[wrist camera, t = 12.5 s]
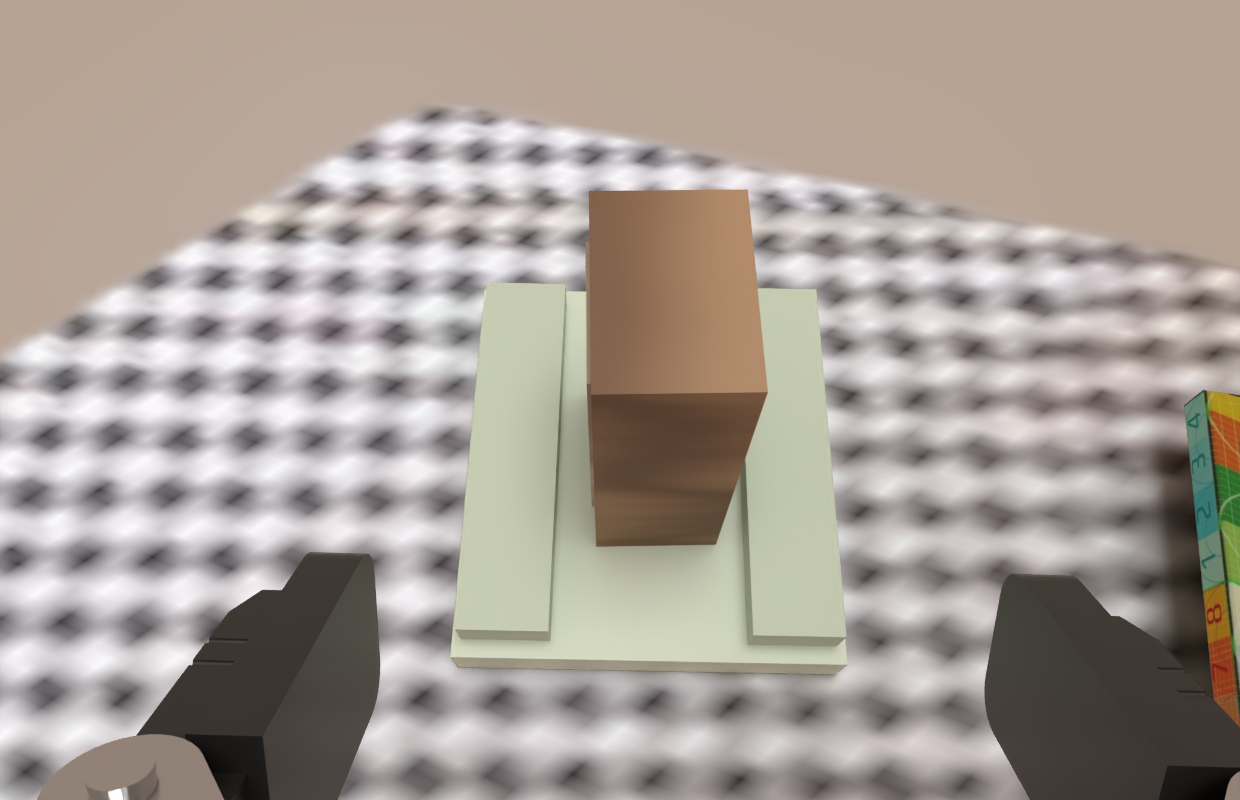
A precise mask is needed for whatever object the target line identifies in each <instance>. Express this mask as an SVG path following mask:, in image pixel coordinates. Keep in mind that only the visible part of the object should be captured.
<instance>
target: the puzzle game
mask: <svg viewBox="0 0 1240 800" xmlns="http://www.w3.org/2000/svg"><path fill="white" fill-rule="evenodd" d="M1184 407H1185V417H1186V427H1187V437H1188V447H1189V457H1190V467H1191V477H1192V486H1193V496H1194V506H1195V516H1196V526H1197V536H1198V546H1199V556H1200V566H1201V576H1202V586H1203V596H1204V606H1205V616H1206V626H1207V636H1208V646H1209V656H1210V666H1211V676H1212V686H1213V696H1214V700H1215V701H1216V702H1217V704H1218V705H1219V706H1220V707H1221V708H1222V709H1223V710H1224V711H1225V712H1226V713H1227V714H1228V715H1229V716H1230V717H1231V718H1232V720H1233V721H1234V722H1235V723H1236V724H1237V725H1238V726H1239V727H1240V395H1233V394H1226V393H1219V392H1213V391H1206V390H1203V391H1202V392H1200V393H1199V394H1198V395H1197V396H1195V397H1194V398H1193V399H1192V400H1190V401H1189V402H1188V403H1187V404H1185V405H1184Z"/></svg>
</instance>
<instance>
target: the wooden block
mask: <svg viewBox="0 0 1240 800" xmlns="http://www.w3.org/2000/svg"><path fill="white" fill-rule="evenodd" d="M589 232H590V242H586V373H587V406H588V429H589V452H590V476H591V499H592V507H595V526H596V547H613V546H671V545H716V543H717V540H718V537H719V534H720V531H721V528H722V525H723V522H724V519H725V516H726V514H727V511H728V508H729V505H730V502H731V499H732V496H733V493H734V490H735V487H736V484H737V481H738V478H739V476H740V473H741V470H742V467H743V464H744V461H745V458H746V455H747V452H748V449H749V446H750V443H751V440H752V437H753V435H754V432H755V429H756V426H757V423H758V420H759V417H760V414H761V411H762V408H763V405H764V402H765V399H766V397H767V394H768V387H767V378H766V368H765V358H764V348H763V338H762V328H761V318H760V308H759V298H758V288H757V278H756V268H755V258H754V248H753V238H752V229H751V219H750V209H749V199H748V190H664V191H589Z"/></svg>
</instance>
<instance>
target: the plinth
mask: <svg viewBox="0 0 1240 800" xmlns="http://www.w3.org/2000/svg"><path fill="white" fill-rule="evenodd" d="M758 298H759V308H760V318H761V328H762V338H763V348H764V358H765V368H766V378H767V387H768V394H767V397H766V399H765V402H764V405H763V408H762V411H761V414H760V417H759V420H758V423H757V426H756V429H755V432H754V435H753V437H752V440H751V443H750V446H749V449H748V452H747V455H746V458H745V461H744V464H743V467H742V470H741V473H740V476H739V478H738V481H737V484H736V487H735V490H734V493H733V496H732V499H731V502H730V505H729V508H728V511H727V514H726V516H725V519H724V522H723V525H722V528H721V531H720V534H719V537H718V540H717V543H716V545H671V546H613V547H596V526H595V507H592V499H591V476H590V452H589V429H588V406H587V373H586V292H570V291H566V286H565V284H525V283H487V288H486V290H485V292H484V303H483V313H482V324H481V335H480V345H479V356H478V367H477V377H476V388H475V399H474V409H473V420H472V431H471V441H470V452H469V463H468V473H467V484H466V495H465V505H464V516H463V527H462V537H461V548H460V559H459V569H458V580H457V590H456V601H455V612H454V622H453V633H452V644H451V654H450V657H451V659H452V660H453V661H454V663H455V664H456V665H457V667H476V668H528V669H579V670H631V671H682V672H734V673H785V674H837V673H838V672H839V671H840V670H842V669H843V668H844V667H845V666H847V655H846V644H845V638H846V637H847V636H846V625H845V613H844V602H843V591H842V579H841V568H840V556H839V545H838V534H837V522H836V511H835V499H834V488H833V476H832V465H831V454H830V442H829V431H828V419H827V408H826V396H825V385H824V374H823V362H822V351H821V339H820V328H819V316H818V305H817V294H816V290H813V289H765V288H758Z"/></svg>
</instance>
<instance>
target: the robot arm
mask: <svg viewBox="0 0 1240 800" xmlns="http://www.w3.org/2000/svg"><path fill="white" fill-rule="evenodd" d="M379 678H380V651H379V636H378V620H377V605H376V589H375V574H374V566H373V562H372V559H371V556H370V555H369V554H356V553H322V552H310V553H308V554H307V555H306V556H305V557H304V558H303V560H302V561H301V563H300V564H299V566H298V567H297V569H296V570H295V572H294V573H293V575H292V576H291V578H290V579H289V581H288V582H287V584H286V585H285V586H284V588H283V589H282V590H262V591H260V592H258V593H257V594H255V595H254V596H252V597H251V598H249V599H248V600H246V601H245V602H243V603H242V604H240V605H239V606H237V607H236V608H234V609H232V610H231V611H229V612H228V614H227V615H226V616H225V618H224V619H223V620H222V622H221V623H220V624H219V626H218V627H217V628H216V630H215V631H214V632H213V634H212V635H211V636H210V638H209V643H205V644H204V646H203V647H202V648H201V650H200V651H199V652H198V654H197V655H196V656H195V658H194V659H193V665H189V666H188V667H187V669H186V670H185V671H184V673H183V674H182V675H181V677H180V678H179V679H178V681H177V682H176V683H175V685H174V686H173V687H172V689H171V690H170V691H169V693H168V694H167V695H166V697H165V698H164V699H163V701H162V702H161V703H160V705H159V706H158V707H157V709H156V710H155V711H154V713H153V714H152V715H151V717H150V718H149V719H148V721H147V722H146V723H145V725H144V726H143V727H142V729H141V730H140V731H139V733H138V734H137V735H136V736H133V737H128V738H123V739H119V740H116V741H112V742H109V743H106V744H104V745H101V746H99V747H96V748H94V749H92V750H90V751H88V752H86V753H84V754H82V755H80V756H79V757H77V758H75V759H74V760H72V761H70V762H69V763H68V764H66V765H65V766H64V767H63V768H61V769H60V770H59V771H58V772H57V773H56V774H55V775H54V776H53V777H52V778H51V779H50V780H49V781H48V782H47V783H46V785H45V786H44V787H43V789H42V791H41V793H40V795H39V796H38V799H37V800H338V797H339V795H340V792H341V790H342V787H343V785H344V782H345V780H346V777H347V775H348V772H349V770H350V767H351V765H352V763H353V760H354V758H355V755H356V753H357V750H358V748H359V745H360V743H361V740H362V738H363V735H364V733H365V730H366V728H367V725H368V723H369V720H370V718H371V716H372V713H373V710H374V707H375V703H376V699H377V694H378V687H379ZM985 705H986V712H987V717H988V720H989V724H990V726H991V729H992V731H993V733H994V735H995V737H996V739H997V741H998V742H999V744H1000V746H1001V748H1002V750H1003V751H1004V753H1005V755H1006V757H1007V759H1008V760H1009V762H1010V764H1011V766H1012V768H1013V770H1014V771H1015V773H1016V775H1017V777H1018V779H1019V780H1020V782H1021V784H1022V786H1023V788H1024V789H1025V791H1026V793H1027V795H1028V797H1029V798H1030V800H1240V727H1239V726H1238V725H1237V724H1236V723H1235V722H1234V721H1233V720H1232V718H1231V717H1230V716H1229V715H1228V714H1227V713H1226V712H1225V711H1224V710H1223V709H1222V708H1221V707H1220V706H1219V705H1218V704H1217V702H1216V701H1215V700H1214V699H1213V698H1212V697H1207V696H1206V691H1205V690H1204V689H1203V687H1202V686H1201V685H1200V684H1199V683H1198V682H1197V681H1196V680H1195V679H1194V678H1193V677H1192V676H1191V675H1190V674H1185V672H1184V667H1183V666H1182V665H1181V664H1180V663H1179V662H1178V661H1177V660H1176V659H1175V658H1174V656H1173V655H1172V654H1171V653H1170V652H1169V651H1168V650H1167V649H1166V648H1165V647H1164V646H1163V645H1162V644H1161V643H1160V642H1159V640H1157V639H1155V638H1154V637H1152V636H1150V635H1149V634H1147V633H1146V632H1144V631H1142V630H1141V629H1139V628H1138V627H1136V626H1134V625H1133V624H1131V623H1129V622H1128V621H1126V620H1125V619H1123V618H1121V617H1120V616H1110V614H1109V613H1108V612H1107V611H1106V610H1105V609H1104V608H1103V607H1102V605H1101V604H1100V603H1099V602H1098V601H1097V600H1096V599H1095V598H1094V596H1093V595H1092V594H1091V593H1090V592H1089V591H1088V590H1087V589H1086V587H1085V586H1084V585H1083V584H1082V583H1081V582H1080V581H1079V580H1078V579H1077V578H1076V577H1074V576H1066V575H1032V574H1011V575H1010V576H1008V577H1007V578H1006V580H1005V582H1004V584H1003V586H1002V589H1001V594H1000V599H999V605H998V610H997V616H996V622H995V627H994V633H993V638H992V644H991V650H990V655H989V661H988V666H987V672H986V678H985Z"/></svg>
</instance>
